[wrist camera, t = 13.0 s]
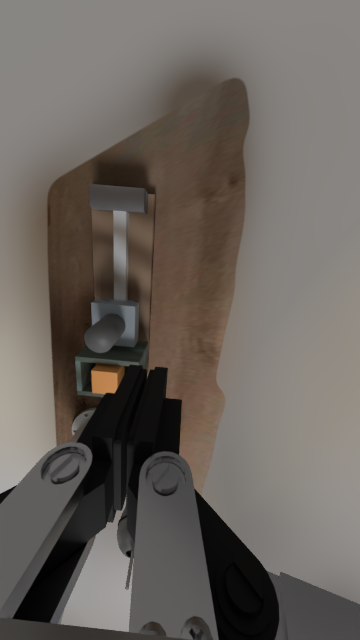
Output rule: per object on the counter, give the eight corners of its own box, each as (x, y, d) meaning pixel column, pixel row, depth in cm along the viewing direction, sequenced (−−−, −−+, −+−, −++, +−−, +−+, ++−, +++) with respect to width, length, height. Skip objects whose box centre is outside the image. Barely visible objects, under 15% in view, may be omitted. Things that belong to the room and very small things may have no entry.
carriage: (139, 338, 40) (124, 364, 31) (101, 334, 40) (74, 360, 31) (140, 301, 38) (124, 317, 29) (100, 297, 38) (71, 312, 29)
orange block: (124, 381, 38) (117, 395, 34) (101, 378, 38) (92, 393, 34) (124, 360, 37) (117, 373, 33) (101, 358, 37) (91, 370, 33)
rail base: (148, 370, 45) (137, 400, 36) (98, 365, 45) (75, 394, 36) (156, 196, 35) (144, 177, 26) (92, 191, 36) (59, 170, 26)
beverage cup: (128, 475, 54) (94, 597, 35) (139, 454, 52) (109, 573, 33) (155, 485, 54) (137, 611, 35) (167, 465, 52) (154, 587, 33)
